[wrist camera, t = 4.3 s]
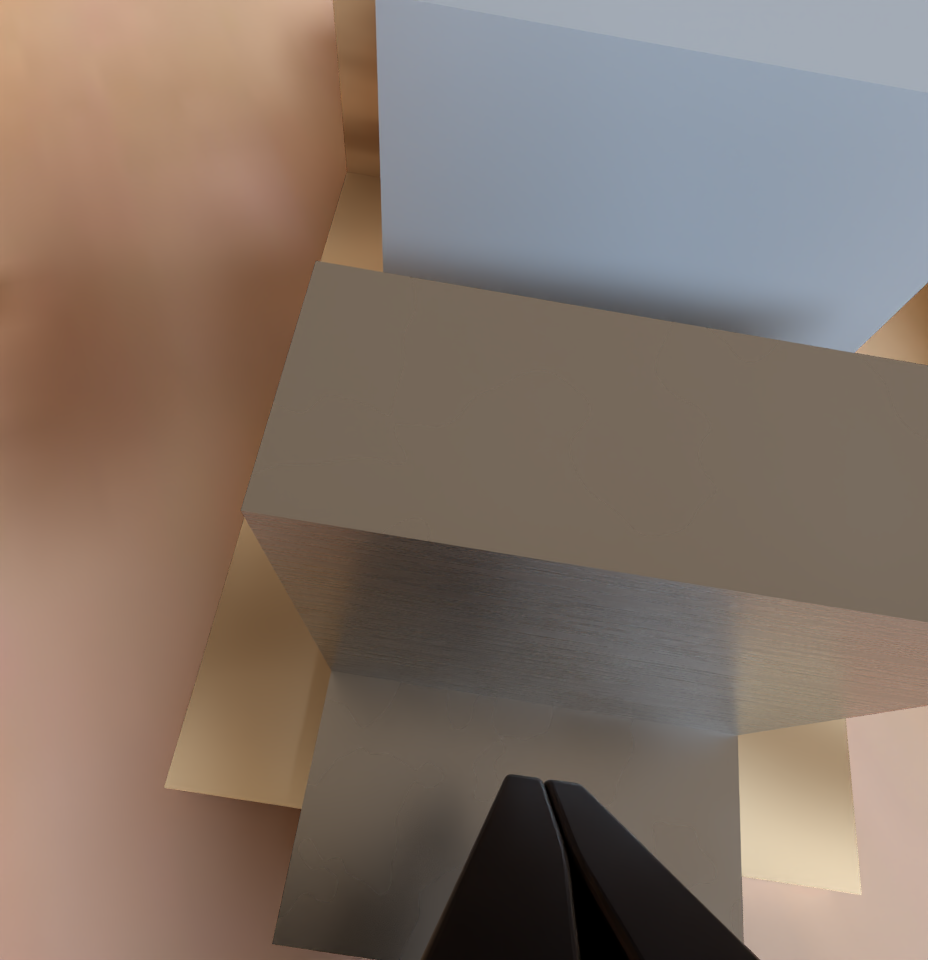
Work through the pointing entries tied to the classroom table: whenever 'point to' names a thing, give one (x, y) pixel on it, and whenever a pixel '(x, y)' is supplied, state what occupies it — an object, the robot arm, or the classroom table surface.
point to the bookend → (571, 575)
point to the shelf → (305, 674)
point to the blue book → (662, 157)
